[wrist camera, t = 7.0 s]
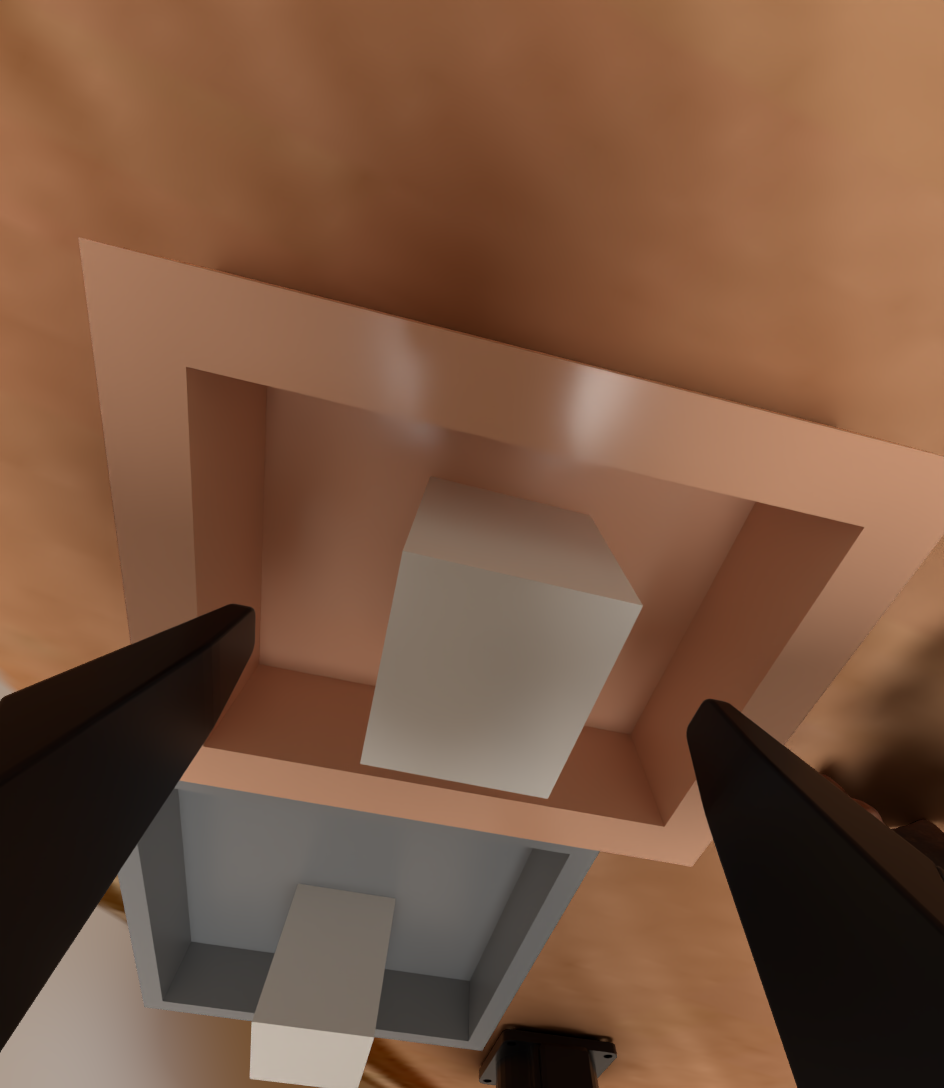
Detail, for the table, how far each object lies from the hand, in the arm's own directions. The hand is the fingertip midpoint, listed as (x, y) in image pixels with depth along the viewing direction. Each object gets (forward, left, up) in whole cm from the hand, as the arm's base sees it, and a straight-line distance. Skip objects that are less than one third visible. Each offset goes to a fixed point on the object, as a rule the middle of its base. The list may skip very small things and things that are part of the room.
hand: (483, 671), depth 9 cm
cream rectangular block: (0, 0, -3) cm, 3 cm away
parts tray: (-14, +2, -4) cm, 15 cm away
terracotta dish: (0, 0, -4) cm, 4 cm away
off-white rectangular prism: (-18, +2, -3) cm, 18 cm away
